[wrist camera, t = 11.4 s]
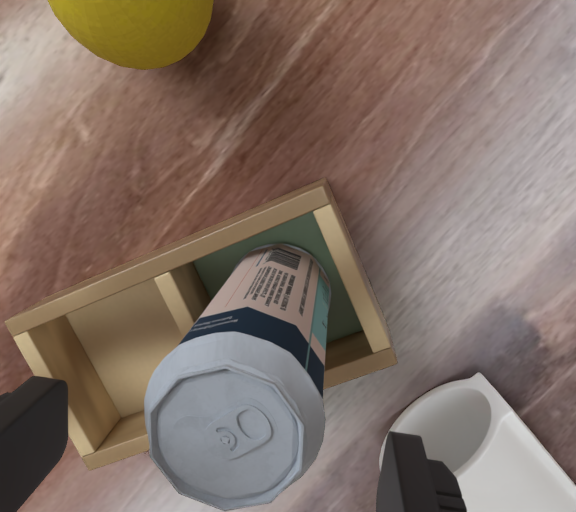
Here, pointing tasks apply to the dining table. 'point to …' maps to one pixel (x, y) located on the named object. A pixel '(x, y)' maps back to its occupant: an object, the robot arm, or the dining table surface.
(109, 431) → the wooden divided tray
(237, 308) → the beer can
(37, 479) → the robot arm
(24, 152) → the dining table surface
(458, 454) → the long cone
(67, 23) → the lemon
